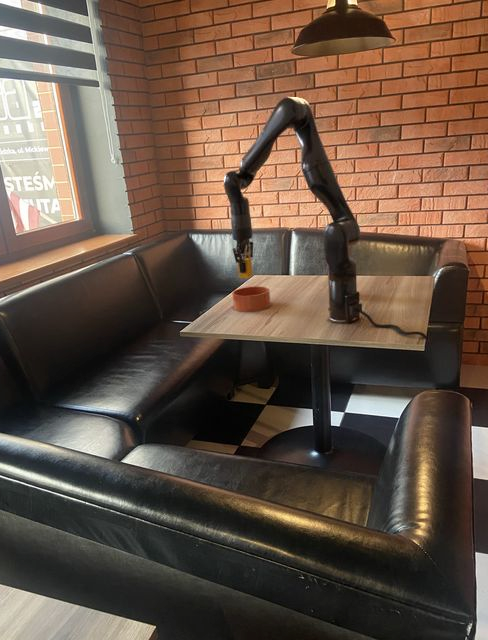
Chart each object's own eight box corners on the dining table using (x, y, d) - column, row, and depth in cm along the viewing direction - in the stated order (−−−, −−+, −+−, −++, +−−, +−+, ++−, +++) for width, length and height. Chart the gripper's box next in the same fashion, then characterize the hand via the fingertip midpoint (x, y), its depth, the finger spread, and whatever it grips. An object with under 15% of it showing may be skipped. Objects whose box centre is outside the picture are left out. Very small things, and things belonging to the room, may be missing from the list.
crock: (277, 304, 208) (276, 289, 205) (250, 313, 199) (249, 298, 197) (253, 299, 218) (252, 284, 216) (226, 307, 210) (225, 293, 208)
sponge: (252, 275, 207) (251, 257, 205) (248, 278, 204) (246, 260, 201) (243, 275, 209) (241, 257, 206) (239, 278, 205) (237, 260, 203)
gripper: (242, 229, 192) (246, 276, 198) (258, 222, 204) (261, 267, 210) (224, 229, 195) (228, 275, 201) (240, 223, 207) (244, 267, 213)
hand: (245, 271), depth 205 cm, fingers closed on sponge, 4 cm apart
